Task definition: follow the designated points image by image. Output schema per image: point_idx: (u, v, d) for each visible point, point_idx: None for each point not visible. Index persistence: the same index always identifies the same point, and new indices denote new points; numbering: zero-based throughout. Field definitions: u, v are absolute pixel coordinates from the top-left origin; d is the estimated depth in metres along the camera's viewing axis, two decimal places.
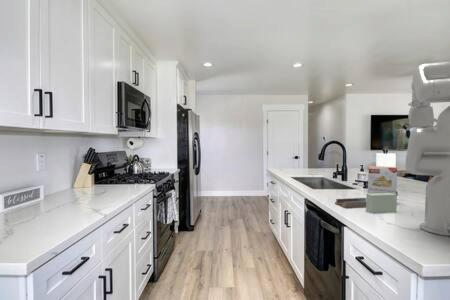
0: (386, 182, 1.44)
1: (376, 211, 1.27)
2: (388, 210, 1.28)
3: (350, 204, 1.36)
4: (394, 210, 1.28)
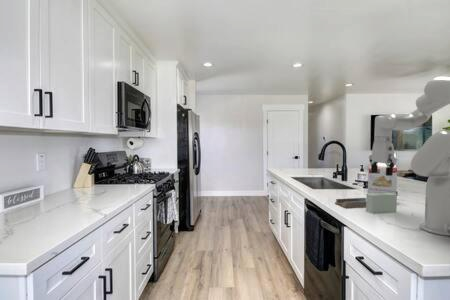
0: (386, 182, 1.44)
1: (376, 211, 1.27)
2: (388, 210, 1.28)
3: (350, 204, 1.36)
4: (394, 210, 1.28)
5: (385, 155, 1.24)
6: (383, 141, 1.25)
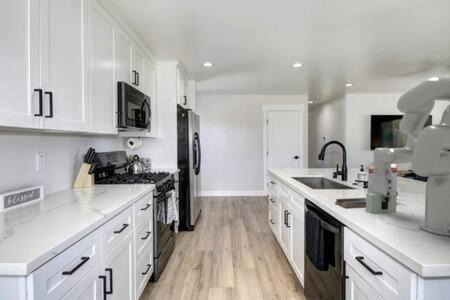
0: None
1: (376, 211, 1.27)
2: (388, 210, 1.28)
3: (350, 204, 1.36)
4: (394, 210, 1.28)
5: (384, 188, 1.24)
6: (382, 174, 1.25)
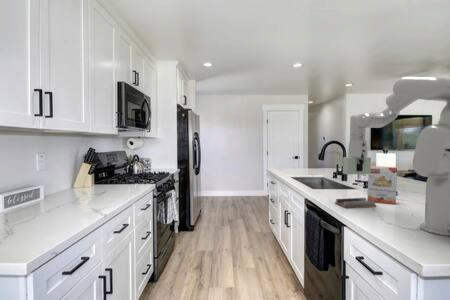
0: (386, 182, 1.44)
1: (351, 172, 1.38)
2: (363, 172, 1.39)
3: (350, 204, 1.36)
4: (368, 172, 1.39)
5: (359, 151, 1.35)
6: (357, 138, 1.36)
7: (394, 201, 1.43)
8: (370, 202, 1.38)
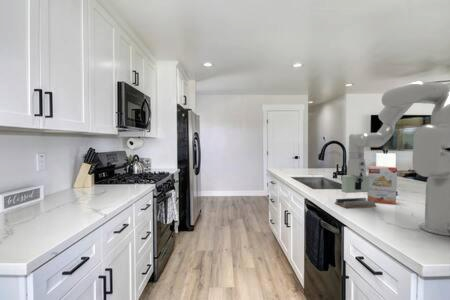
0: (386, 182, 1.44)
1: (350, 191, 1.38)
2: (361, 190, 1.40)
3: (350, 204, 1.36)
4: (367, 190, 1.40)
5: (357, 170, 1.36)
6: (356, 157, 1.37)
7: (394, 201, 1.43)
8: (370, 202, 1.38)
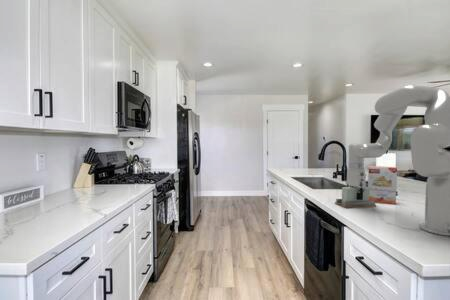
0: (386, 182, 1.44)
1: None
2: None
3: (350, 204, 1.36)
4: None
5: (357, 180, 1.36)
6: (355, 167, 1.37)
7: (394, 201, 1.43)
8: (370, 202, 1.38)
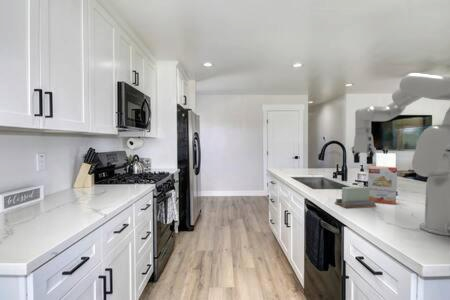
0: (386, 182, 1.44)
1: None
2: None
3: (350, 204, 1.36)
4: None
5: (365, 145, 1.33)
6: (363, 132, 1.34)
7: (394, 201, 1.43)
8: (370, 202, 1.38)
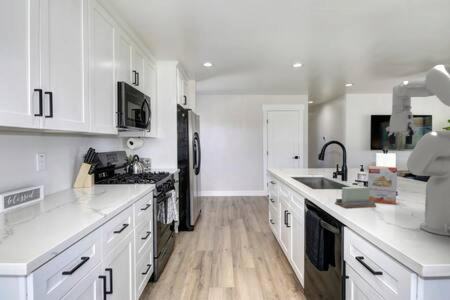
0: (386, 182, 1.44)
1: None
2: None
3: (350, 204, 1.36)
4: None
5: (404, 123, 1.22)
6: (402, 110, 1.23)
7: (394, 201, 1.43)
8: (370, 202, 1.38)
